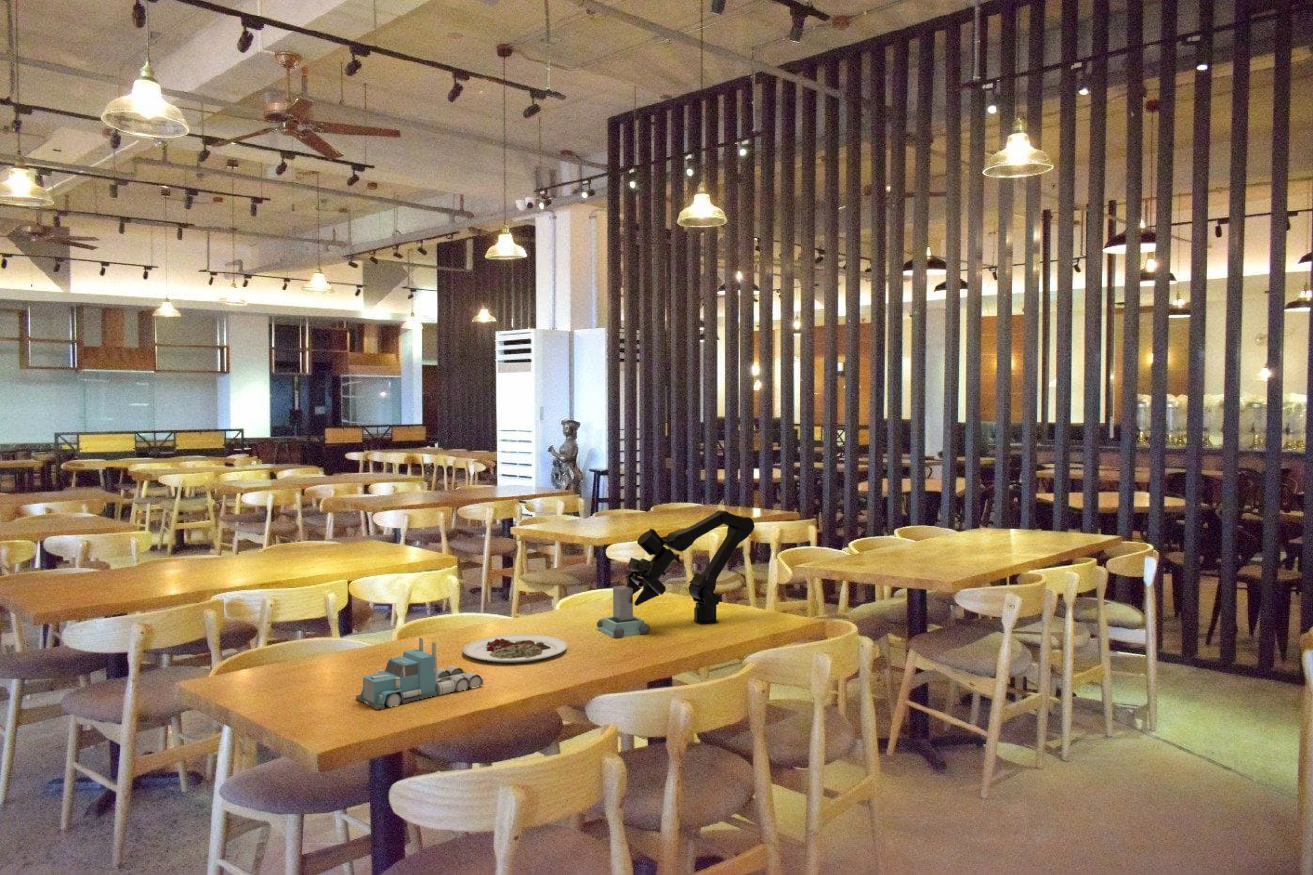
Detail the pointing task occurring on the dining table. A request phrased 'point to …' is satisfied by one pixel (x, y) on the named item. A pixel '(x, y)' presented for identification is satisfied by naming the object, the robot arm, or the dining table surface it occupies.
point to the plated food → (515, 648)
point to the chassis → (622, 627)
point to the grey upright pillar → (622, 604)
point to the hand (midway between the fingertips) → (628, 602)
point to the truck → (414, 679)
